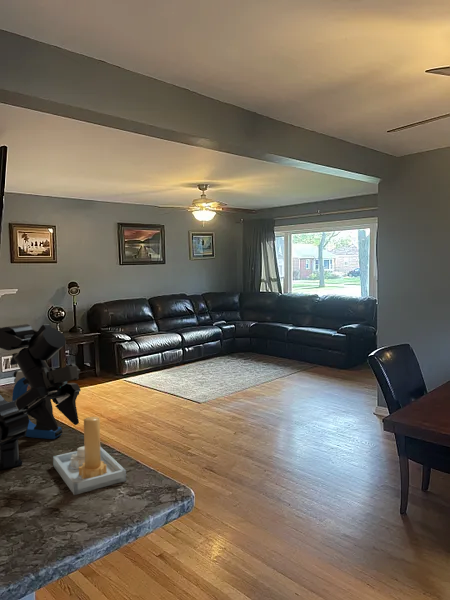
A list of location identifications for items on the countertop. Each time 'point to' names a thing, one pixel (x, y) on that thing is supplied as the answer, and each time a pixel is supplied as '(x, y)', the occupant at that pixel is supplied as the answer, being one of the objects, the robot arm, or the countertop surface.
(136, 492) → the countertop surface
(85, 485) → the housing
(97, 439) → the tan gear peg
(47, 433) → the handheld scanner
